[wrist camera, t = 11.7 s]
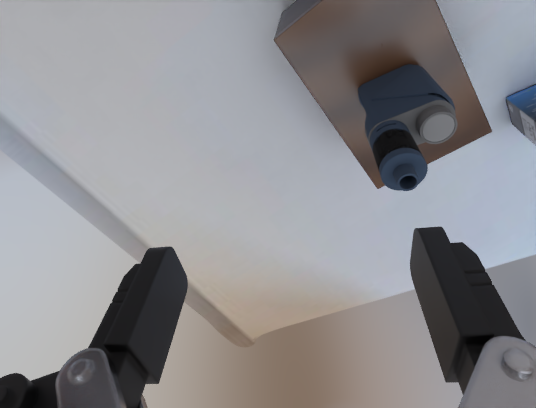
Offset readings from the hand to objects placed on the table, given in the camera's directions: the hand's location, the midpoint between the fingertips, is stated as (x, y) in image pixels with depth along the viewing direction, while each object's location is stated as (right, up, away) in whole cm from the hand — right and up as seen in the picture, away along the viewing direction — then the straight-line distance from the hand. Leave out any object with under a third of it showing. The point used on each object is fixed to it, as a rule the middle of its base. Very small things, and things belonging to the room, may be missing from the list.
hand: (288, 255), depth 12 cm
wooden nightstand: (+9, +17, +23) cm, 31 cm away
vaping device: (+9, +11, +15) cm, 20 cm away
